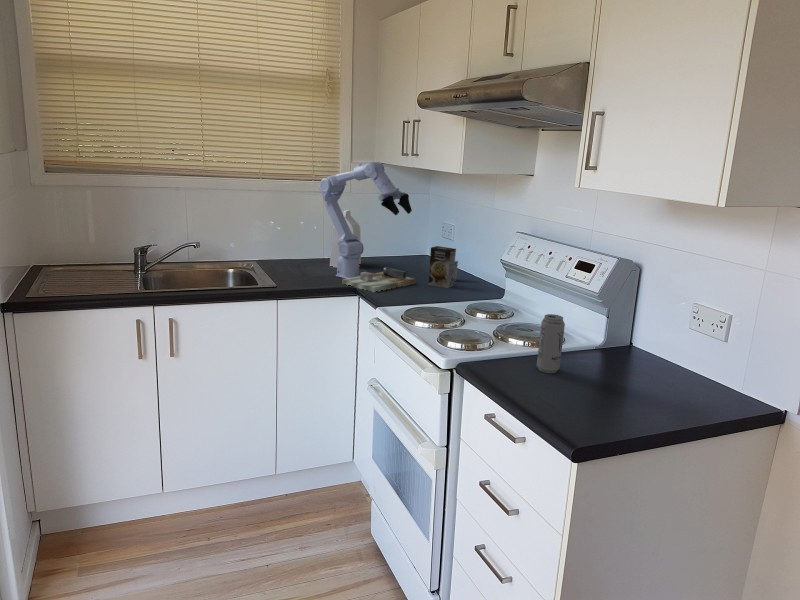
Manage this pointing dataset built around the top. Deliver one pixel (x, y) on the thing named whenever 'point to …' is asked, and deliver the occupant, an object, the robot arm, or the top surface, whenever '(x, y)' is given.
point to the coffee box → (442, 266)
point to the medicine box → (455, 271)
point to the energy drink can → (550, 343)
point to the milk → (335, 238)
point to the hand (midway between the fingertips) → (403, 212)
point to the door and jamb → (377, 281)
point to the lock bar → (394, 272)
